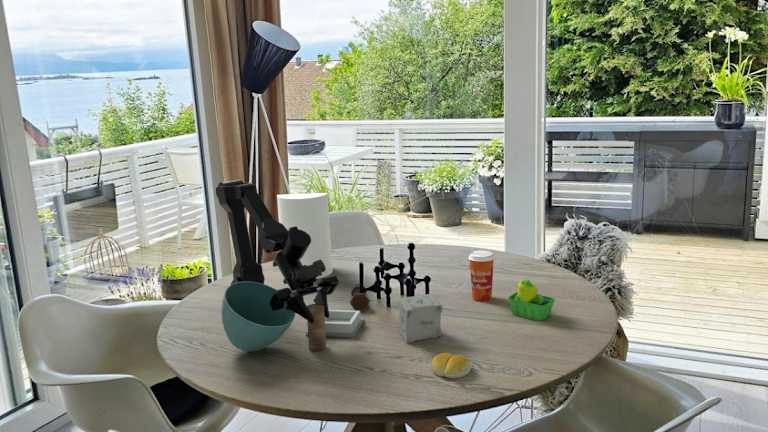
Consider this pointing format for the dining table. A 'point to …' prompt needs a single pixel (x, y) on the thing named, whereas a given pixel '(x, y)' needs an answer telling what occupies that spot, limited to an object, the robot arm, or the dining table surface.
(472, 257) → the paper cup
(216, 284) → the dining table surface
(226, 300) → the teal bowl
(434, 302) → the light grey box
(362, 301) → the bolt
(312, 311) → the walnut cylinder
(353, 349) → the dining table surface
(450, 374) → the bread roll
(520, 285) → the fruit basket
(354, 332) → the white tray
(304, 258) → the cylinder
